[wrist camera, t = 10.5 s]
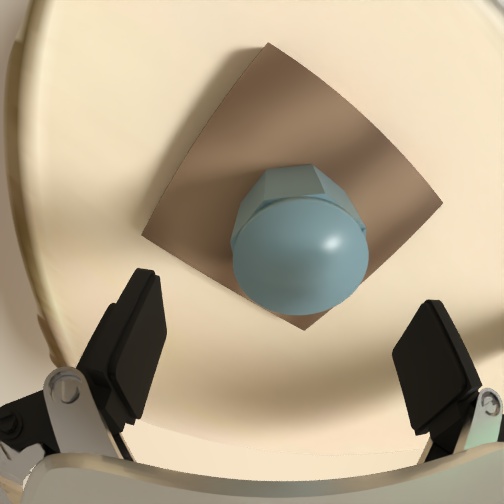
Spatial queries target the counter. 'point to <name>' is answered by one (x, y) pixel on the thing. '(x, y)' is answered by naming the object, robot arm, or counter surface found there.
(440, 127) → the counter surface
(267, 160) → the brown flat square piece
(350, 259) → the cap
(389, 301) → the counter surface
